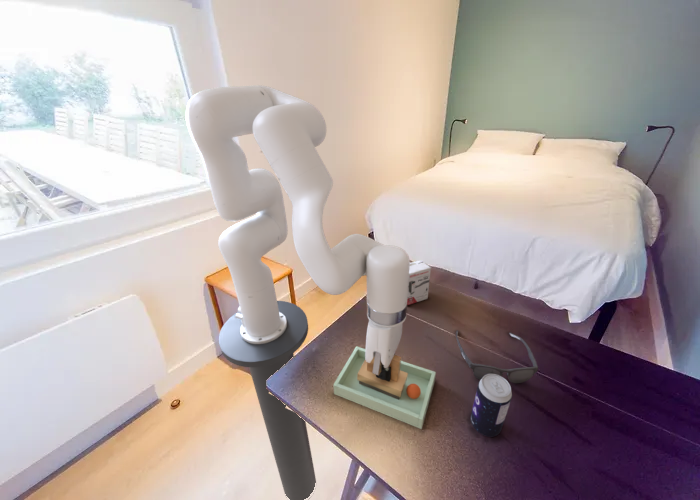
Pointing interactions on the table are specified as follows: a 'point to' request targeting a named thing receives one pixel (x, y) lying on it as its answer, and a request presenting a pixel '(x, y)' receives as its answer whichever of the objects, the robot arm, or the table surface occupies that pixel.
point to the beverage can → (491, 404)
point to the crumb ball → (413, 391)
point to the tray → (398, 409)
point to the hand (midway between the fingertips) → (385, 373)
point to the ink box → (418, 282)
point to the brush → (383, 386)
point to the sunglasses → (513, 374)
